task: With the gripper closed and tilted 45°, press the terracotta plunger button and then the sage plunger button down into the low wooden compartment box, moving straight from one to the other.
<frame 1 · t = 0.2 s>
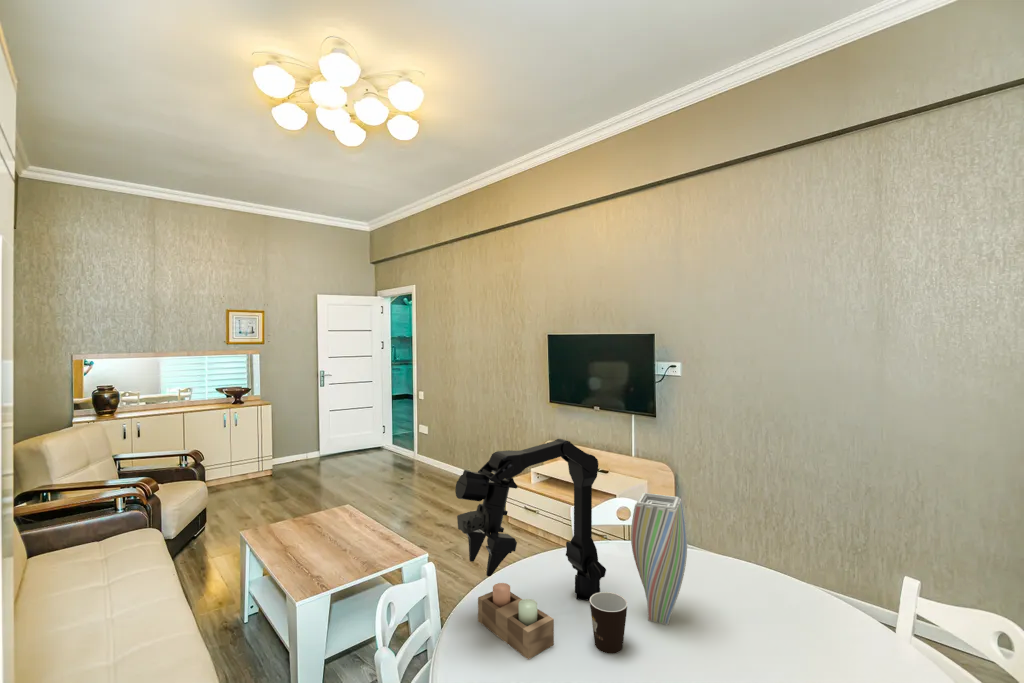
hand: (479, 568, 115), 15 cm above the table, tool tilted 15°, fingers open, 9 cm apart
wooden compartment box: (514, 632, 114), on the table
vase: (659, 618, 120), on the table
sage button: (527, 614, 110), point 7 cm above the table, slide at 0.0 cm
brown paper cup: (608, 641, 111), on the table
terracotta button: (501, 597, 118), point 7 cm above the table, slide at 0.0 cm
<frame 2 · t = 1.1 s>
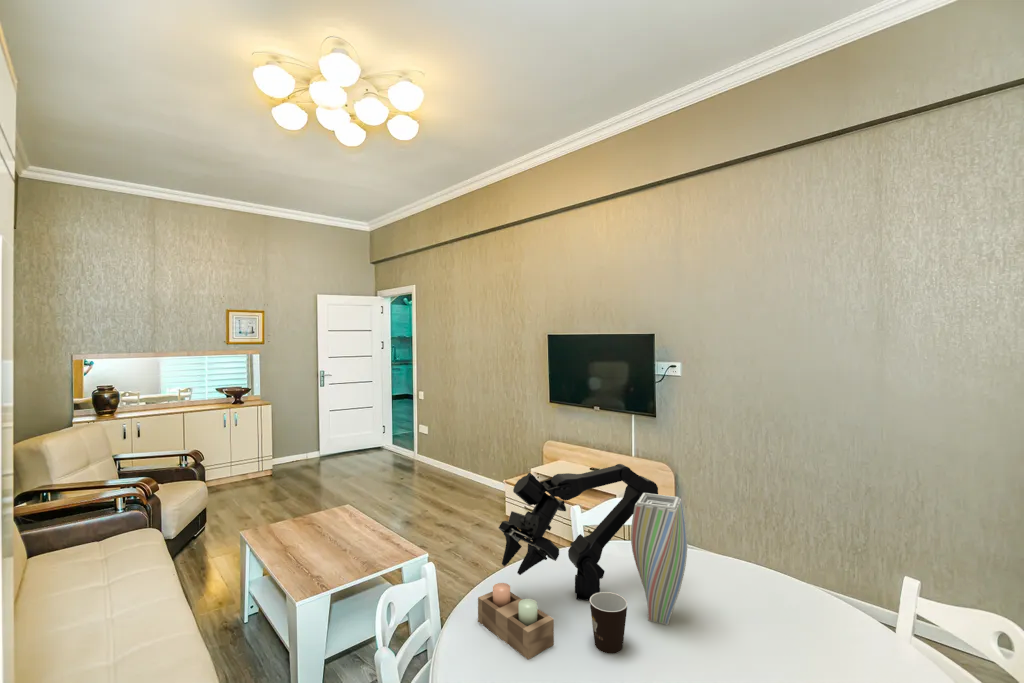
hand: (510, 569, 120), 12 cm above the table, tool tilted 45°, fingers open, 6 cm apart
nothing on the table moved.
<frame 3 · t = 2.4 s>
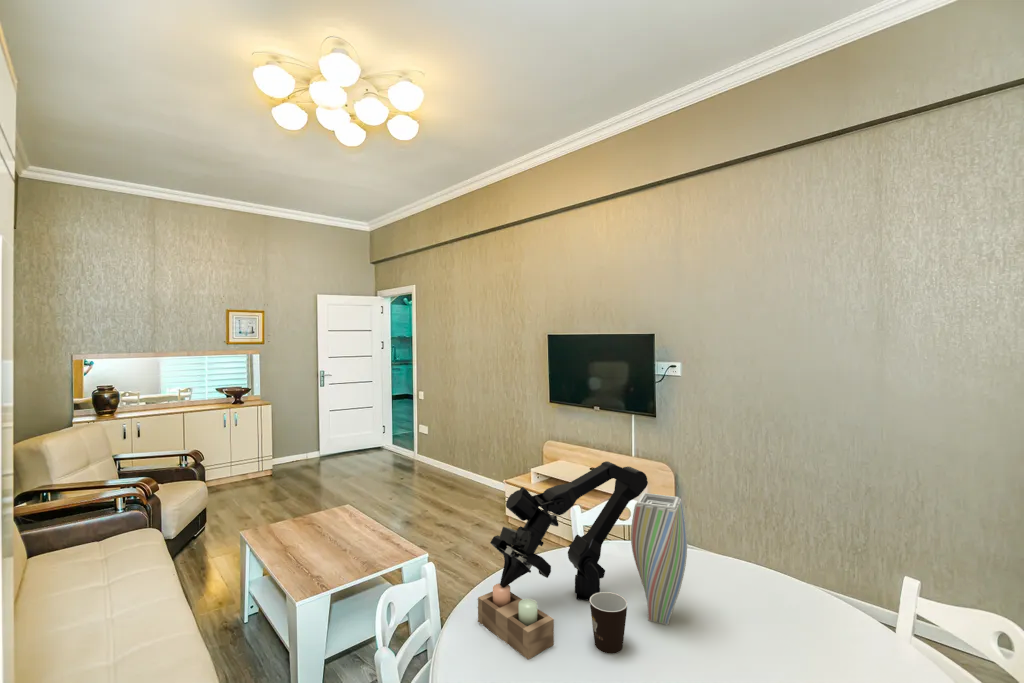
hand: (501, 586, 118), 9 cm above the table, tool tilted 45°, fingers closed, pressing on terracotta button
terracotta button: (501, 597, 118), point 6 cm above the table, slide at 0.1 cm, touching gripper
everything else where it was.
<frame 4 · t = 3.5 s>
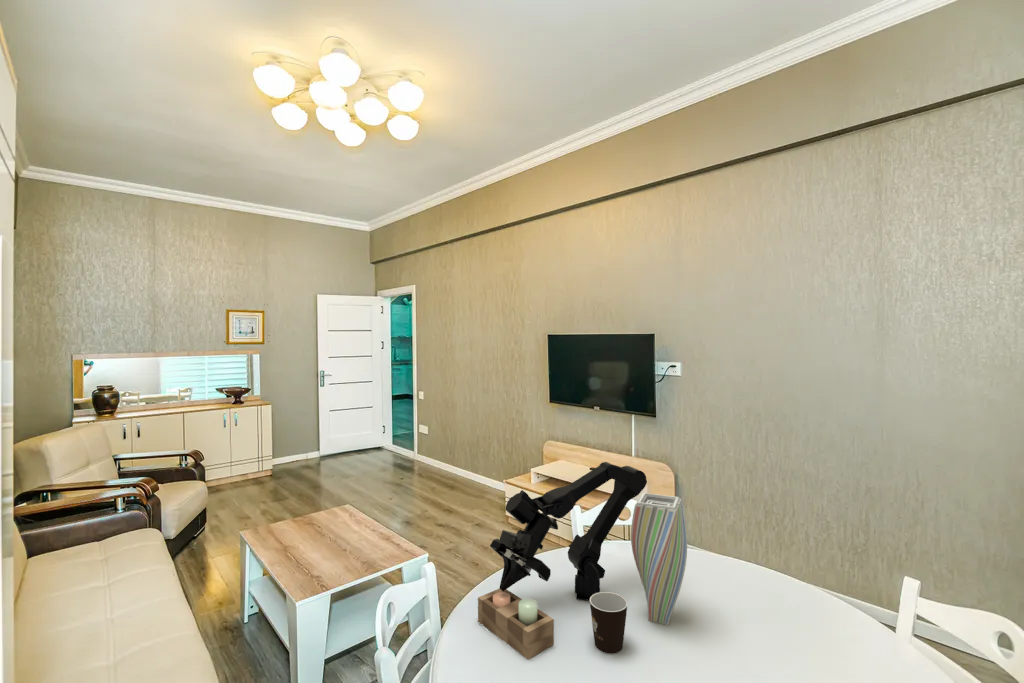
hand: (501, 589, 118), 8 cm above the table, tool tilted 45°, fingers closed
terracotta button: (501, 606, 118), point 4 cm above the table, slide at 2.3 cm
everything else where it was.
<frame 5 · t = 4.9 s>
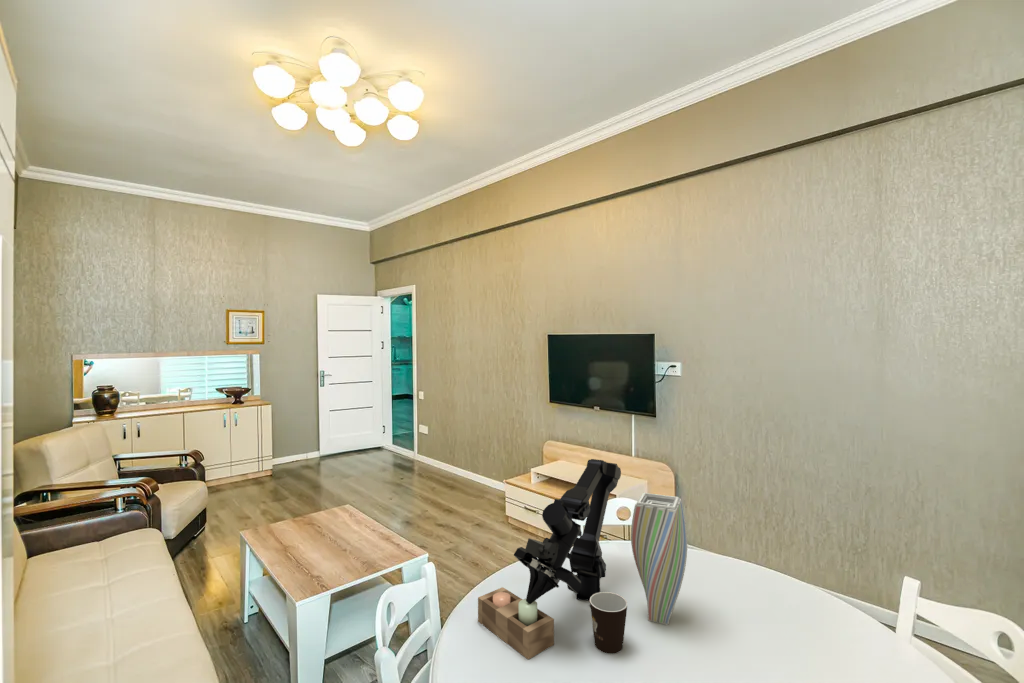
hand: (528, 602, 110), 9 cm above the table, tool tilted 45°, fingers closed, pressing on sage button
sage button: (527, 614, 110), point 6 cm above the table, slide at 0.0 cm, touching gripper
everything else where it was.
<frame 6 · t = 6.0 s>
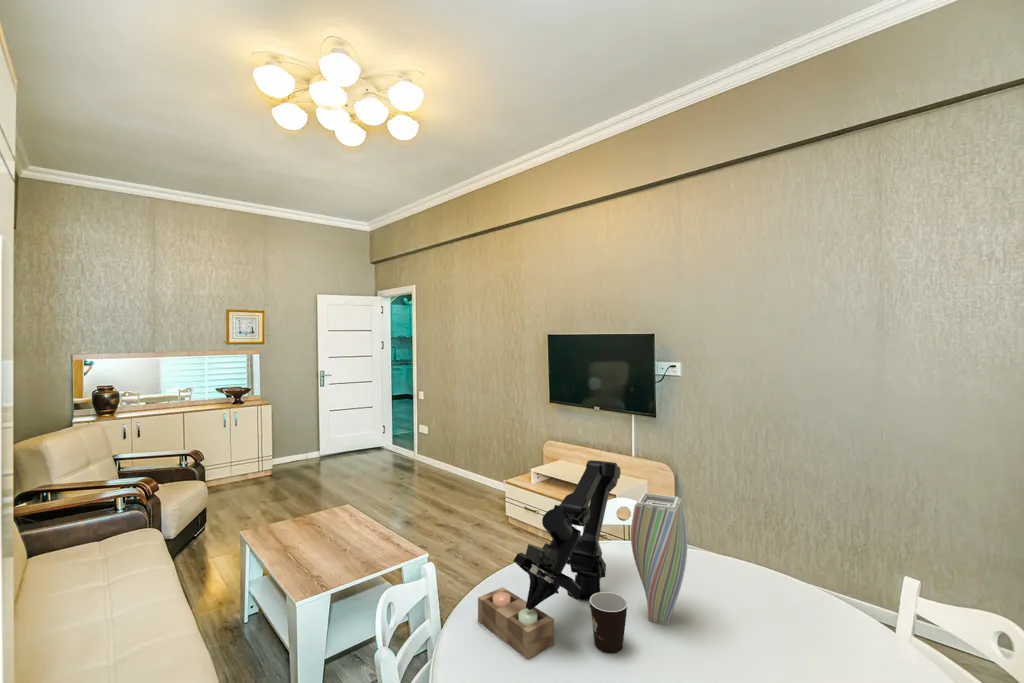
hand: (527, 608, 110), 8 cm above the table, tool tilted 45°, fingers closed
sage button: (527, 624, 110), point 4 cm above the table, slide at 2.3 cm
everything else where it was.
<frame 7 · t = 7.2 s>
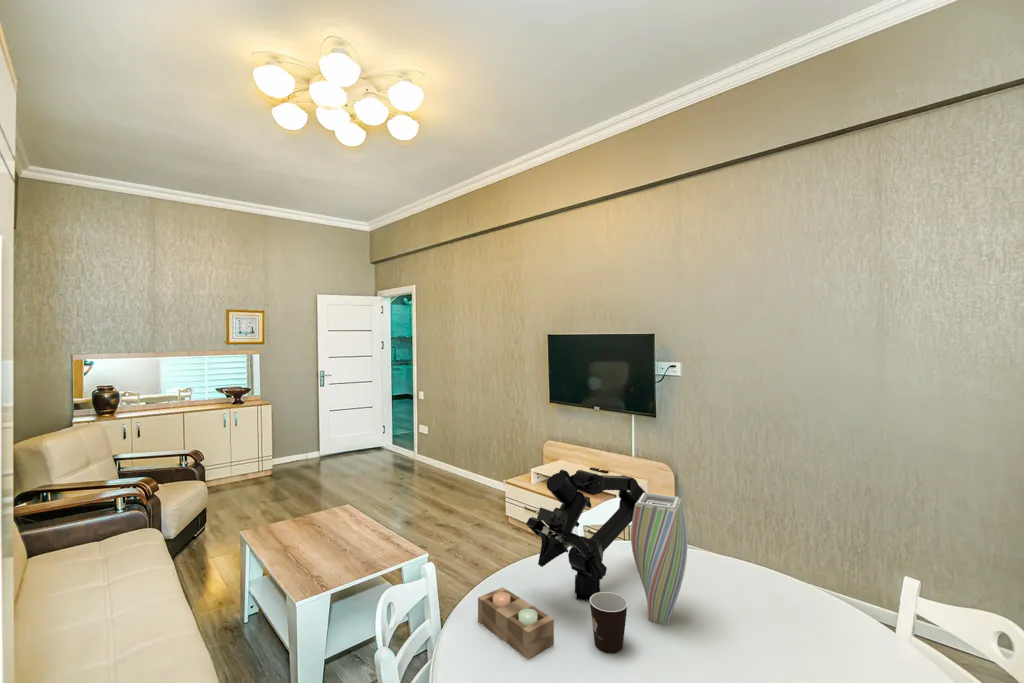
hand: (539, 565, 120), 14 cm above the table, tool tilted 45°, fingers closed
nothing on the table moved.
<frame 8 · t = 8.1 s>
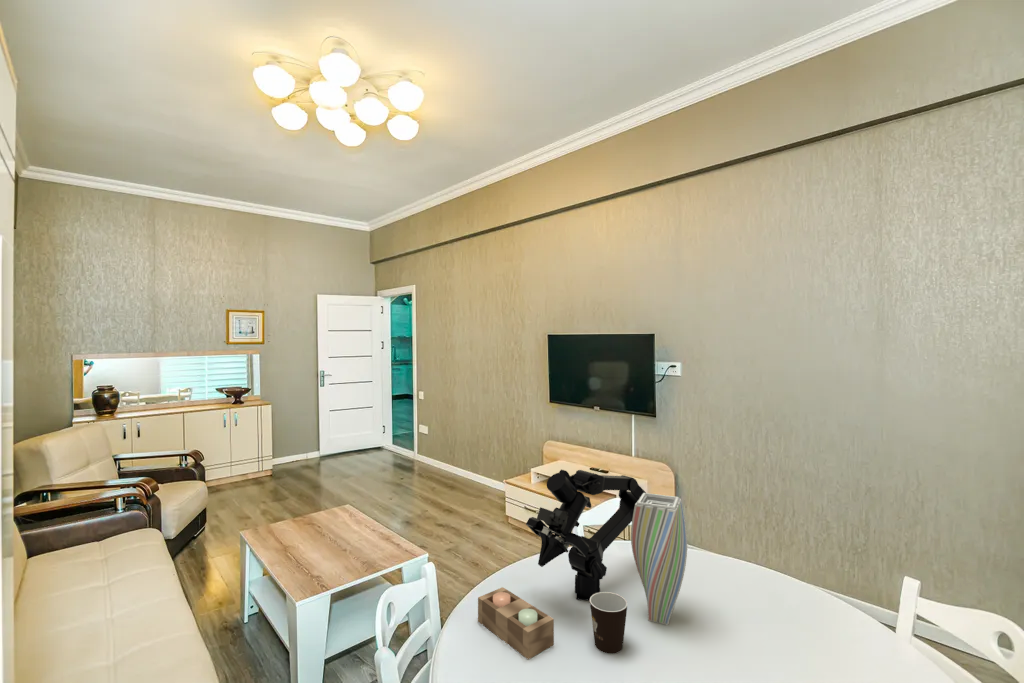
hand: (539, 565, 120), 14 cm above the table, tool tilted 45°, fingers closed
nothing on the table moved.
at the end: terracotta button slide at 2.3 cm; sage button slide at 2.3 cm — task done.
